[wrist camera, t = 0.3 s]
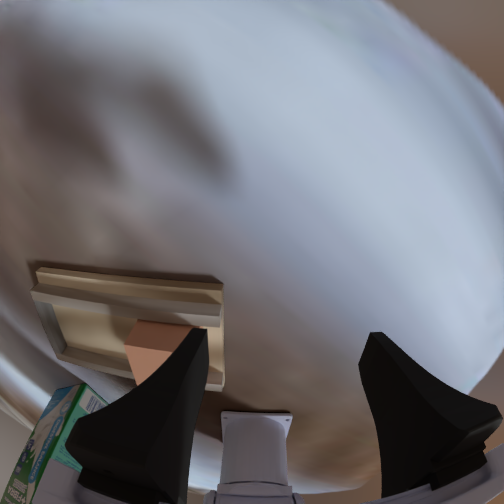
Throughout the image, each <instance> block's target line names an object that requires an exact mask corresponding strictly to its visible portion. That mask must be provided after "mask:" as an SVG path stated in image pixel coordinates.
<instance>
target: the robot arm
mask: <svg viewBox="0 0 504 504" xmlns="http://www.w3.org/2000/svg"><path fill="white" fill-rule="evenodd" d="M358 366H359V371H360V376H361V381H362V385H363V388H364V391H365V394H366V397H367V400H368V403H369V406H370V409H371V412H372V415H373V418H374V422H375V425H376V430H377V436H378V442H379V449H380V458H381V472H382V494H381V499H378V500H374V501H370V502H365V503H361V504H486V503H487V502H488V501H490V500H492V499H493V498H494V497H496V496H497V495H499V494H500V493H502V492H503V491H504V444H503V443H502V444H501V445H499V446H497V447H496V448H494V449H492V450H490V451H489V452H488V453H486V454H485V455H484V452H483V450H484V449H485V448H486V446H485V443H484V441H485V440H486V439H487V438H488V437H489V436H490V435H491V434H492V433H493V432H494V431H495V430H496V429H497V428H498V427H499V425H500V424H501V422H502V419H503V417H502V415H501V414H500V412H499V410H498V408H497V406H496V405H493V404H490V403H487V402H483V401H481V400H478V399H475V398H473V397H470V396H468V395H466V394H464V393H461V392H459V391H458V390H456V389H454V388H452V387H450V386H448V385H447V384H445V383H443V382H442V381H440V380H439V379H437V378H436V377H434V376H433V375H432V374H430V373H429V372H428V371H426V370H425V369H424V368H423V367H421V366H420V365H419V364H418V363H416V362H415V361H414V360H413V359H412V358H411V357H410V356H408V355H407V354H406V353H405V352H404V351H403V350H402V349H401V348H400V347H398V346H397V345H396V344H395V343H394V342H393V341H392V340H391V339H390V338H388V337H387V336H386V335H385V334H384V333H382V332H370V334H369V337H368V340H367V342H366V345H365V348H364V351H363V353H362V356H361V358H360V361H359V364H358ZM208 370H209V348H208V332H207V329H204V328H192V329H191V330H190V331H189V333H188V334H187V336H186V337H185V338H184V339H183V341H182V342H181V343H180V344H179V346H178V347H177V348H176V349H175V350H174V352H173V353H172V354H171V355H170V356H169V357H168V358H167V359H166V361H165V362H164V363H163V364H162V365H161V366H160V367H159V368H158V369H157V370H156V371H155V372H153V373H152V374H151V375H150V376H149V377H148V378H147V379H146V380H144V381H143V382H142V383H141V384H139V385H138V386H137V387H135V388H134V389H133V390H131V391H130V392H129V393H127V394H126V395H124V396H123V397H121V398H119V399H118V400H116V401H114V402H112V403H111V404H109V405H107V406H105V407H103V408H101V409H99V410H97V411H95V412H92V413H90V414H88V415H85V416H83V417H80V418H78V419H77V421H76V422H75V424H74V425H73V427H72V429H71V432H70V434H69V436H68V438H67V440H66V442H65V448H66V450H67V451H68V453H69V454H70V455H71V456H72V457H73V458H74V459H75V460H76V461H77V462H78V463H79V464H80V465H81V466H82V467H83V468H82V470H81V473H80V472H79V471H77V470H75V469H73V468H71V467H69V466H67V465H65V464H63V463H61V462H59V461H57V460H54V459H53V458H50V459H49V461H48V464H47V466H46V468H45V470H44V473H43V475H42V477H41V480H40V482H39V485H38V487H37V490H36V492H35V495H34V497H33V500H32V504H187V489H188V477H189V467H190V458H191V450H192V443H193V435H194V429H195V424H196V420H197V417H198V413H199V409H200V405H201V402H202V398H203V394H204V390H205V387H206V383H207V377H208ZM292 418H293V417H292V414H290V413H248V412H232V411H223V412H221V423H222V436H223V456H222V466H221V475H220V484H218V486H217V492H216V491H215V490H210V492H208V493H207V494H205V497H204V500H203V504H305V501H304V499H303V498H302V497H301V496H300V495H299V494H298V493H292V486H288V474H287V454H286V437H287V434H288V431H289V428H290V424H291V421H292Z"/></svg>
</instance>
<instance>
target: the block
mask: <svg viewBox="0 0 504 504" xmlns="http://www.w3.org/2000/svg"><path fill="white" fill-rule="evenodd" d="M192 328H203V326H194V325H184V324H175V323H166V322H157V321H149V320H142V319H138V320H137V322H136V323H135V325H134V327H133V329H132V330H131V332H130V334H129V336H128V337H127V339H126V341H125V343H124V348H125V351H126V354H127V357H128V360H129V363H130V366H131V369H132V372H133V375H134V378H135V381H136V384H137V386H138V385H139V384H141V383H142V382H143V381H144V380H146V379H147V378H148V377H149V376H150V375H151V374H152V373H153V372H155V371H156V370H157V369H158V368H159V367H160V366H161V365H162V364H163V363H164V362H165V361H166V359H167V358H168V357H169V356H170V355H171V354H172V353H173V352H174V350H175V349H176V348H177V347H178V346H179V344H180V343H181V342H182V341H183V339H184V338H185V337H186V336H187V334H188V333H189V331H190V330H191V329H192Z"/></svg>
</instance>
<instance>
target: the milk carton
mask: <svg viewBox="0 0 504 504" xmlns="http://www.w3.org/2000/svg"><path fill="white" fill-rule="evenodd" d="M107 405H109V404H108V403H107V402H105V401H104V400H103V399H102V398H101V397H100V396H99V395H98V394H97V393H96V392H94V391H93V390H92V389H91V388H90V387H89V386H88V385H87V384H86V383H84V384H80V385H76V386H72V387H67V388H63V389H58V390H56V391H55V393H54V395H53V396H52V398H51V400H50V401H49V403H48V405H47V406H46V408H45V410H44V412H43V414H42V415H41V417H40V419H39V421H38V423H37V424H36V426H35V428H34V430H33V432H32V434H31V436H30V438H29V440H28V441H27V443H26V445H25V448H24V449H23V452H22V454H21V456H20V458H19V460H18V462H17V464H16V466H15V469H14V471H13V473H12V475H11V477H10V480H9V482H8V484H7V487H6V489H5V492H4V494H3V497H2V499H1V502H0V504H32V500H33V497H34V495H35V492H36V490H37V487H38V485H39V482H40V480H41V477H42V475H43V473H44V470H45V468H46V466H47V464H48V461H49V459H50V458H53V459H54V460H57V461H59V462H61V463H63V464H65V465H67V466H69V467H71V468H73V469H75V470H77V471H79V472H80V473H81V470H82V468H83V467H82V466H81V465H80V464H79V463H78V462H77V461H76V460H75V459H74V458H73V457H72V456H71V455H70V454H69V453H68V451H67V450H66V448H65V442H66V440H67V438H68V436H69V434H70V432H71V429H72V427H73V425H74V424H75V422H76V421H77V419H78V418H80V417H83V416H85V415H88V414H90V413H92V412H95V411H97V410H99V409H101V408H103V407H105V406H107Z"/></svg>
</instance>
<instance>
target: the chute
mask: <svg viewBox="0 0 504 504" xmlns="http://www.w3.org/2000/svg"><path fill="white" fill-rule="evenodd" d="M36 275H37V278H38V282H39V283H38V284H37V285H36V286H35V287H33V288H32V289H31V290H30V292H31V295H32V298H33V301H34V304H35V306H36V309H37V312H38V315H39V317H40V320H41V322H42V325H43V327H44V330H45V332H46V334H47V337H48V339H49V341H50V343H51V346H52V348H53V350H54V352H55V354H56V356H57V358H58V359H59V360H62V361H65V362H68V363H72V364H75V365H78V366H82V367H86V368H89V369H93V370H97V371H101V372H105V373H109V374H113V375H117V376H122V377H126V378H131V379H135V378H134V375H133V372H132V369H131V366H130V363H129V360H128V357H127V354H126V351H125V348H124V343H125V341H126V339H127V337H128V336H129V334H130V332H131V330H132V329H133V327H134V325H135V323H136V322H137V320H138V319H142V320H149V321H157V322H166V323H175V324H184V325H194V326H203V328H204V329H207V332H208V348H209V370H208V377H207V383H206V387H205V390H210V391H220V392H222V387H224V382H225V369H224V309H223V284H218V283H203V282H189V281H176V280H163V279H151V278H140V277H129V276H118V275H108V274H99V273H89V272H80V271H71V270H63V269H55V268H46V267H41V268H39V269H38V270H37V271H36Z"/></svg>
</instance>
